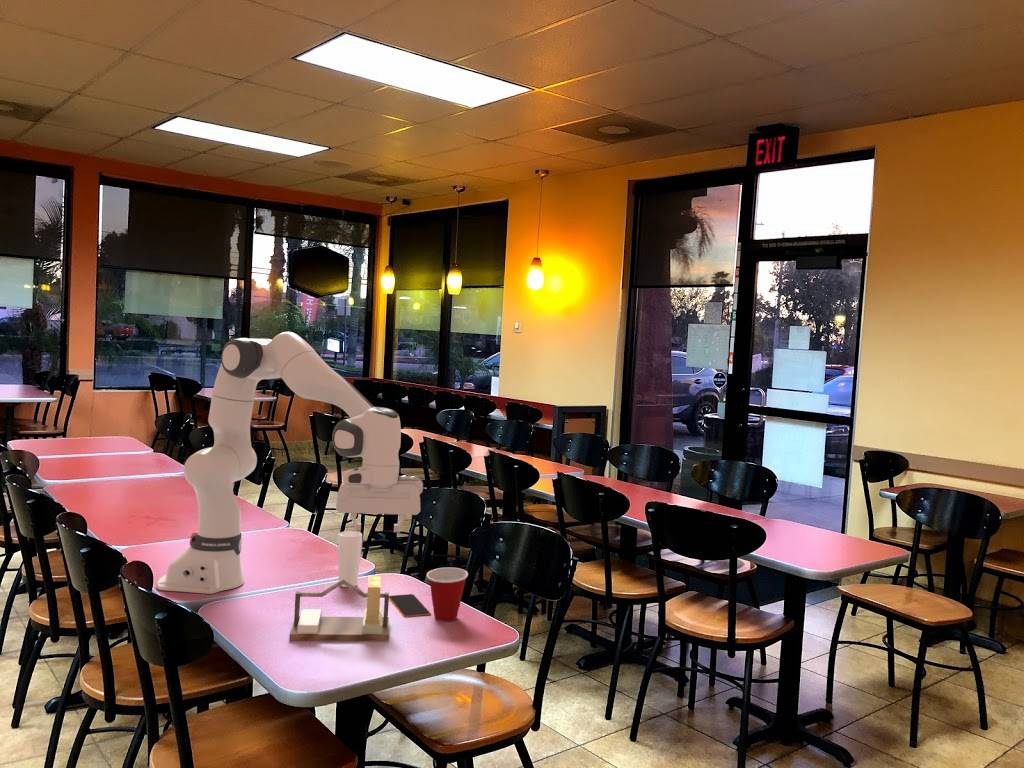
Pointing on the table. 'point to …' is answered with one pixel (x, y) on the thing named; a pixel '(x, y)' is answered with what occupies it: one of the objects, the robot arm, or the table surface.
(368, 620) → the yellow upright block
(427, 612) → the smartphone
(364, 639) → the buzz wire
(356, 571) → the white cylinder
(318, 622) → the block
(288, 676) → the table surface
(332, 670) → the table surface
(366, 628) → the end block
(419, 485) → the robot arm
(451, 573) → the plastic cup
